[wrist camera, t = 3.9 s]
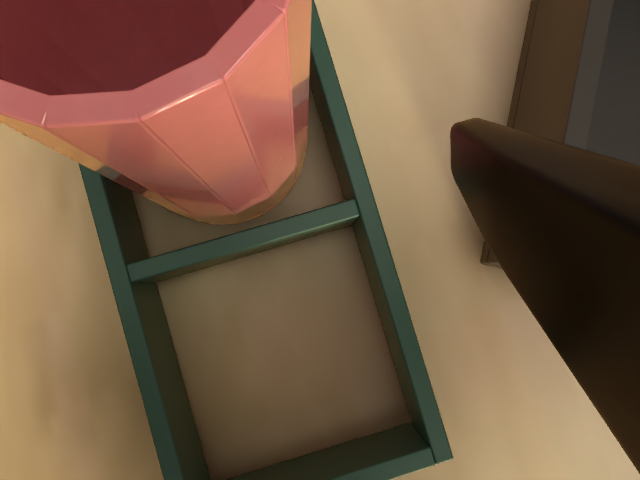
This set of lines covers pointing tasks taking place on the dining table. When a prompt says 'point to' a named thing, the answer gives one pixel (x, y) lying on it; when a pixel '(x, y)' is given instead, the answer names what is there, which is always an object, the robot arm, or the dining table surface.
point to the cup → (166, 95)
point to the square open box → (580, 78)
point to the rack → (358, 210)
